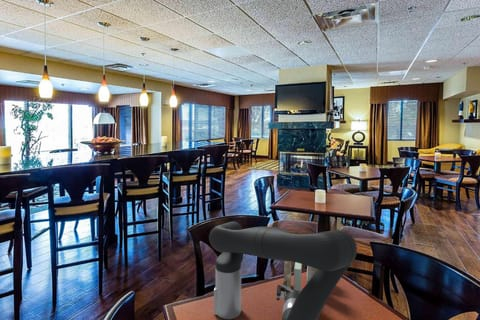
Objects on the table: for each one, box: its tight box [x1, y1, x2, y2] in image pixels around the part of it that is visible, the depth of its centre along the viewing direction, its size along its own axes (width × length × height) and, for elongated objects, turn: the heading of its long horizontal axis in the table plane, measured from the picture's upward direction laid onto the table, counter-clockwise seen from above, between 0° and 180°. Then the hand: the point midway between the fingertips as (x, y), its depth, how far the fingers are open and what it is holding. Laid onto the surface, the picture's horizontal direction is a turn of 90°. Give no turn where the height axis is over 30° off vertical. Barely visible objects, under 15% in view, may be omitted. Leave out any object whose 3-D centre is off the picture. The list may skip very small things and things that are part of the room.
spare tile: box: [293, 262, 303, 291], centre depth 116 cm, size 2×6×15 cm, turn 166°
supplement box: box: [306, 265, 311, 284], centre depth 132 cm, size 6×6×12 cm
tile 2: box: [311, 267, 317, 278], centre depth 123 cm, size 2×6×15 cm, turn 166°
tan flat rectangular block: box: [283, 261, 292, 289], centre depth 126 cm, size 2×6×15 cm, turn 166°
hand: (297, 284), depth 116 cm, fingers open, 8 cm apart
